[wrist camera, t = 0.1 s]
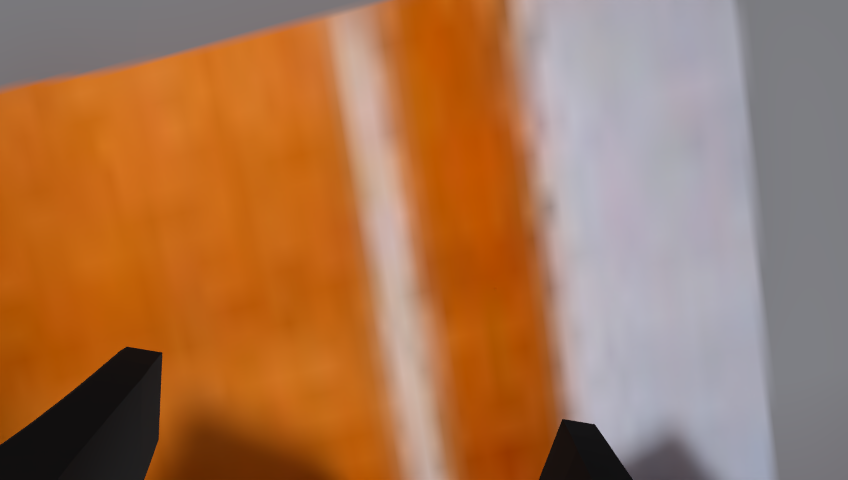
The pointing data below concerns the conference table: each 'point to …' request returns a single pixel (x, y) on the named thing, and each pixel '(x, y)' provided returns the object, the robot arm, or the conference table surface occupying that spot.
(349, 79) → the conference table surface
